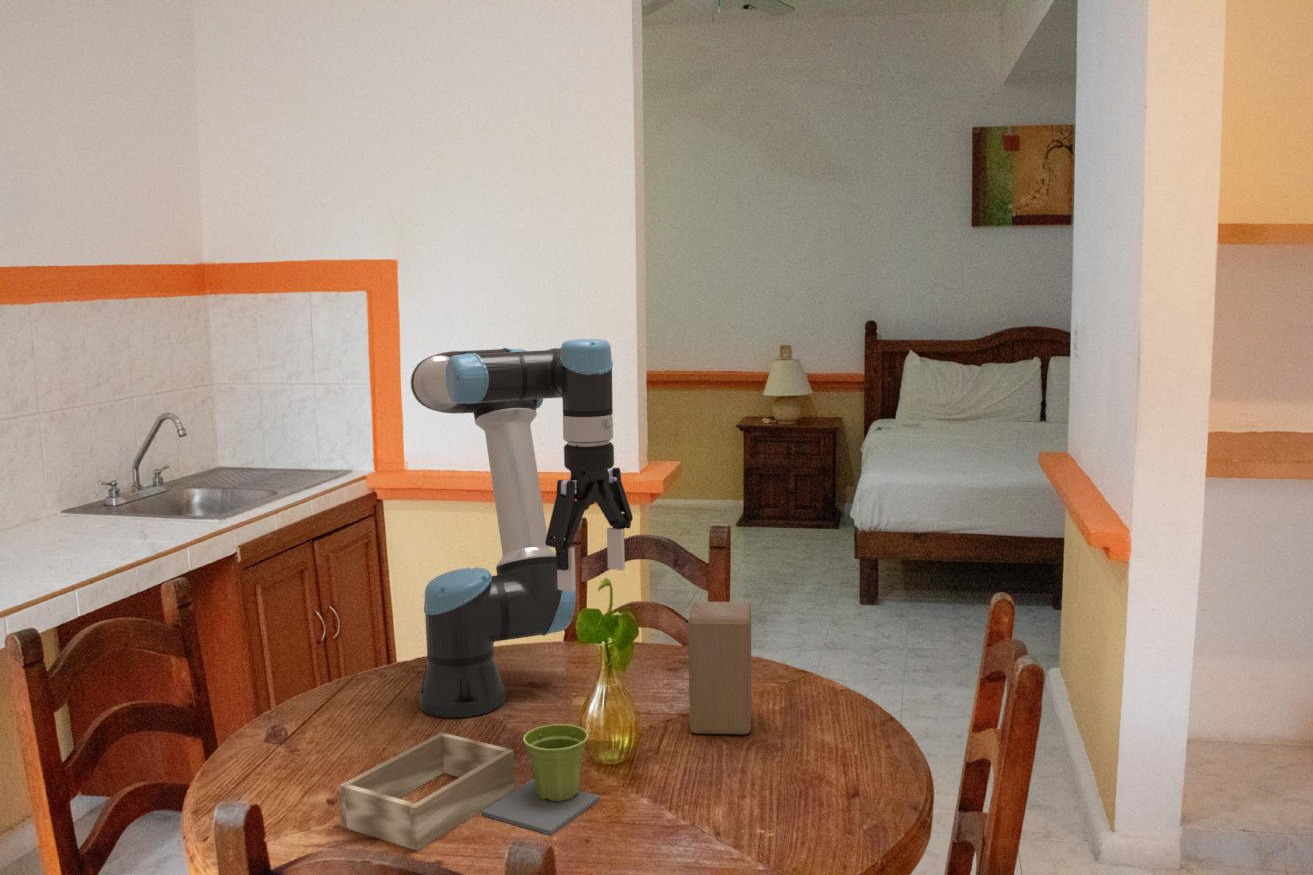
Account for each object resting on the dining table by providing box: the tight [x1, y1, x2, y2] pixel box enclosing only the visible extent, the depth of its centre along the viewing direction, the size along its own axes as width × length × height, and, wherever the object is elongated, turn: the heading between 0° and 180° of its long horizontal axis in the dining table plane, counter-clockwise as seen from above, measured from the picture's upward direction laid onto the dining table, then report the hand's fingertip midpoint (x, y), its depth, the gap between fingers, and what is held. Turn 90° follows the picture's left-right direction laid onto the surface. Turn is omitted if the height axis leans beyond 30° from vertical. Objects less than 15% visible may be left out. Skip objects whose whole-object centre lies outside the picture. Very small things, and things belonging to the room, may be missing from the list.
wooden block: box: [687, 601, 753, 735], centre depth 191 cm, size 10×10×20 cm
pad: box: [481, 778, 601, 836], centre depth 163 cm, size 12×12×1 cm
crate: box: [338, 731, 516, 852], centre depth 164 cm, size 14×21×6 cm, turn 149°
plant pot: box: [522, 723, 590, 801], centre depth 166 cm, size 9×9×9 cm
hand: (592, 579), depth 176 cm, fingers open, 13 cm apart
